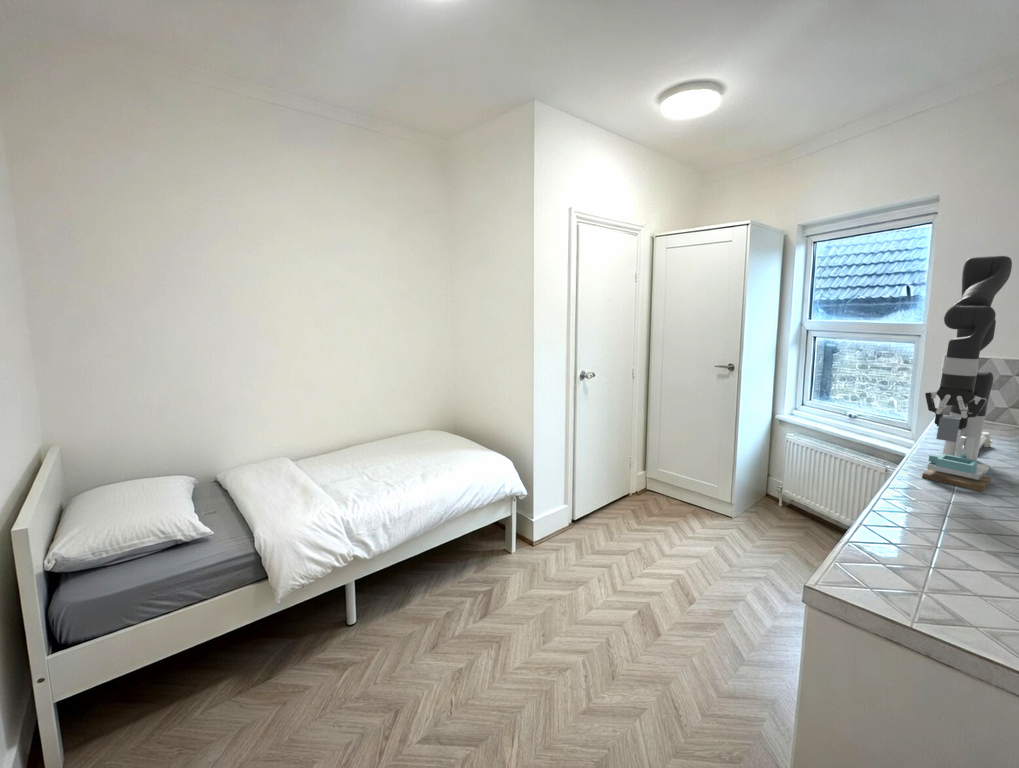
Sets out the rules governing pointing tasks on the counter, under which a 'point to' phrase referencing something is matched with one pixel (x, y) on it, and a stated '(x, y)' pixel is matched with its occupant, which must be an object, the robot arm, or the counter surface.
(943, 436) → the brushed steel block
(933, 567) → the counter surface
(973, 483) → the foot plate
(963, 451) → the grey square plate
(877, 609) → the counter surface
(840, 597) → the counter surface
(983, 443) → the cream flanged bar
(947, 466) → the bracket head
